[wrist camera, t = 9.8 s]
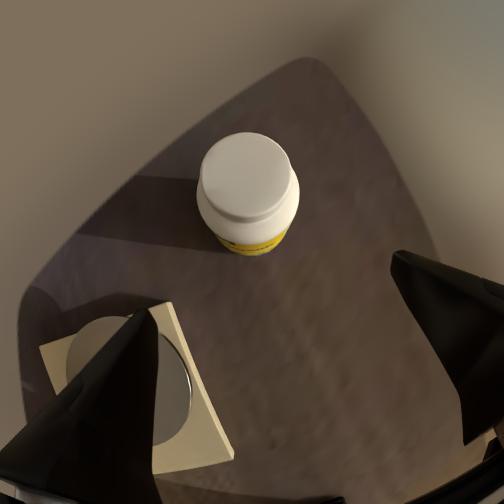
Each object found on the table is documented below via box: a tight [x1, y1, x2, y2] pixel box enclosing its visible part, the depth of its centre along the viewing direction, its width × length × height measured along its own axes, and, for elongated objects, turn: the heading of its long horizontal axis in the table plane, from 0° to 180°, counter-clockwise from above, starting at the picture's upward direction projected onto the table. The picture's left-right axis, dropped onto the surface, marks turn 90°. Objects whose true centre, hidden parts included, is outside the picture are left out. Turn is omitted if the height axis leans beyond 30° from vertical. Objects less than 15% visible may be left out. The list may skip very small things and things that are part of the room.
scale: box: [39, 302, 234, 474], centre depth 19 cm, size 14×14×3 cm
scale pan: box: [66, 316, 193, 446], centre depth 18 cm, size 10×10×1 cm
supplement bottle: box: [197, 133, 299, 256], centre depth 18 cm, size 5×5×10 cm
